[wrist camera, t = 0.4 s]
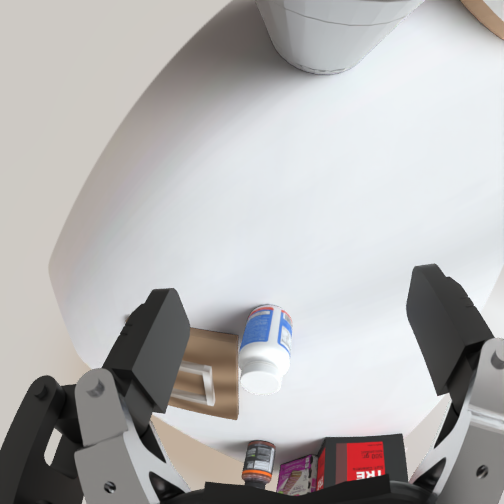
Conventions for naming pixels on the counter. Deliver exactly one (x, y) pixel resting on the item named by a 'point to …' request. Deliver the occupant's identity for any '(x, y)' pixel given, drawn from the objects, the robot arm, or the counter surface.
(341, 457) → the cleaning product box
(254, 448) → the supplement bottle
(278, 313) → the pill bottle
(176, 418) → the counter surface
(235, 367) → the walnut board
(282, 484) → the candy bar box
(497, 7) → the bowl
